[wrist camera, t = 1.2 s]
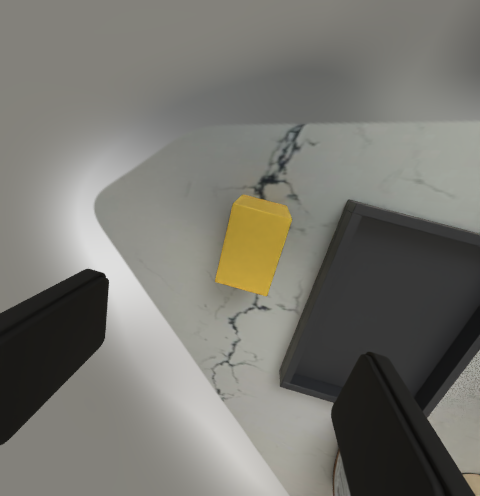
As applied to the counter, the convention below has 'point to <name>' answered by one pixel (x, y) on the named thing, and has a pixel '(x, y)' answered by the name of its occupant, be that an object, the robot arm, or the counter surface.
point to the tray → (389, 305)
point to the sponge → (253, 244)
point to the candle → (473, 482)
